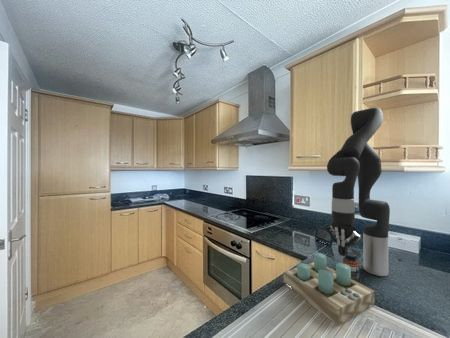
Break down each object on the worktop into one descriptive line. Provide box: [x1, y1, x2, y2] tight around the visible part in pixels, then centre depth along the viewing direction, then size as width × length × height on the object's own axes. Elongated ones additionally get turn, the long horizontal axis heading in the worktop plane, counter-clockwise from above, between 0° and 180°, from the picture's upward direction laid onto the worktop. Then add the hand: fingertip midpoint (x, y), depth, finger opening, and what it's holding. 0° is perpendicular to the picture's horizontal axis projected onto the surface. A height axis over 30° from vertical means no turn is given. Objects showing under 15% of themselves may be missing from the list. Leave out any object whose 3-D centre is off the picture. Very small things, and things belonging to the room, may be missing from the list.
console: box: [283, 261, 375, 326], centre depth 75 cm, size 20×24×5 cm
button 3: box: [318, 269, 333, 294], centre depth 69 cm, size 5×5×6 cm
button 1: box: [296, 262, 310, 282], centre depth 78 cm, size 5×5×6 cm
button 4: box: [335, 262, 351, 286], centre depth 73 cm, size 5×5×6 cm
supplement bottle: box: [342, 251, 360, 283], centre depth 84 cm, size 6×6×11 cm
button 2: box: [313, 252, 328, 271], centre depth 82 cm, size 5×5×6 cm
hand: (342, 255), depth 73 cm, fingers closed
